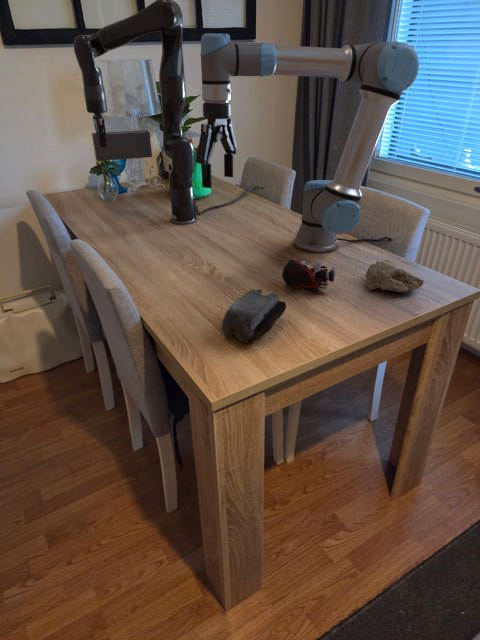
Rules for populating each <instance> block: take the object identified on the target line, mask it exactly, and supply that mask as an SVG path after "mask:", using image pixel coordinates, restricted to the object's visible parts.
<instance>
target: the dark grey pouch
mask: <svg viewBox="0 0 480 640" xmlns="http://www.w3.org/2000/svg"><path fill="white" fill-rule="evenodd" d="M262 292H263V290H262V289H250V290H248V291H247V292H246V293H245V294H243V295H242V296H241V297H239V298H238V299H237V300H235V301H234V302H233V303H232V304H231V305H230V306H229V307H228V309H227V310H226V312H225V314H224V316H223V319H222V323H221V331H222V332H223V333H224V334H225V335H227V336H234V335H235V337H236V338H237V340H239V341H240V342H244V343H247V344H249V345H251V344H253V343H254V342H255V341H257V340H258V339H260V338H262V337H264V336H265V335H266V334H267V333H269V332H270V331H271V330H272V328H273V327H274V325H275V323H276V322H277V320H278V319H279V318H280V317H281V316H283V314H284V313H285V312H286V310H287V304H286V303H287V302H285V301H280V298H279V294H278V293H276V292H275V293H274V292H273V293H269V294H262Z"/></svg>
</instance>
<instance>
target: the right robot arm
mask: <svg viewBox="0 0 480 640" xmlns="http://www.w3.org/2000/svg"><path fill="white" fill-rule="evenodd" d="M199 56H200V66H201V68H200V69H201V71H200V72H201V96H202V101H204V102H202V116H203V118H204V119H206V120H207V123H201V125H200V135H199V140H198V141H199V142H198V145H199V146H198V145H197V147H198V152H197V157H196V162H197V163H199V164H201V172H202V187H204V188H211V189H212V188H213V180H212V178H213V177H212V176H213V175H212V164H211V163H210V162H211V159H212V157H213V156H212V155H213V153H214V149H215V146H216V143H218V141H220V143H221V145H222V148H223V150H224V152H225V153H224V154H223V173H224V174H223V175H224V177H225V178H234V155H237V153H238V151H237V150H238V146H237V141H236V136H235V132H234V128H233V120H232V118H231V116H232V115H231V113H232V112H231V111H232V109H231V106H232V105H231V103H230V102H229V101H231V92H232V88H231V77H260V78H263V77H270V76H287V77H288V76H289V77H291V76H292V77H313V78H332V79H333V78H334V79H338V81H339V82H341V83H342V82H343V83H351V84H357V85H360V87H359V90H358V92H359V94H360V96H361V100H360V104H359V106H358V109H357V112H356V114H355V117H354V120H353V123H352V126H351V129H350V132H349V134H348V137H347V140H346V143H345V146H344V149H343V152H342V154H341V157H340V160H339V163H338V165H337V168H336V172H335V174H334V177H333V180H330V179H318V180H317V179H315V180H309V181H307V182H305V184H304V188H303V193H302V194H303V197H302V211H301V223H300V226H299V228H298V230H296V231H295V238H294V245H295V246H296V247H297V248H298V249H300V250H302V251H305V252H310V253H328V252H331V251H334V250H335V249H337V246H338V241H342V242H347V243H357V242H382V241H384V240H389V241H393V239H392V237H390V238H388V237H389V236H383V237H381V238H357V239H347V238H342V237H337V235H339V236H340V235H345V234H347V233H349V232H351V231H353V230H354V229H355V228H356V226H357V225H358V224H359V223H360V219H361V215H362V212H361V208H360V206H359V204H360V202H361V199H362V198H363V197H362V196H363V194H362V192H361V186H362V183H363V181H364V177H365V175H366V173H367V170H368V167H369V164H370V162H371V161H372V160H371V159H372V157H373V154H374V153H375V150H376V146H377V144H378V141H379V139H380V136H381V133H382V131H383V128H384V126H385V123H386V121H387V118H388V115H389V113H390V110H391V108H392V107H393V106H394V105H396V104H398V103H399V102H400V99H401V97H402V94H403V92H404V91H406V90H407V89H408V88H410V87H411V86H412V85H413V83H414V82H415V81H416V78H417V76H418V73H419V69H420V68H419V67H420V63H419V62H420V61H419V57H418V53H417V52H416V50H415V49H414V47H413V46H411V45H410V44H409V43H406V42H402V41H397V40H393V41H375V42H370V43H369V42H368V43H364V44H363V43H362V44H345V45H344V46H342V48H340V47H339V48H338V47H318V46H302V45H301V46H300V45H299V46H298V45H285V44H280V45H279V44H273V43H268V42H232V40H231V35H230V34H229V33H203V34H202V36H201V37H200V55H199ZM200 157H201V158H200Z"/></svg>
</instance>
